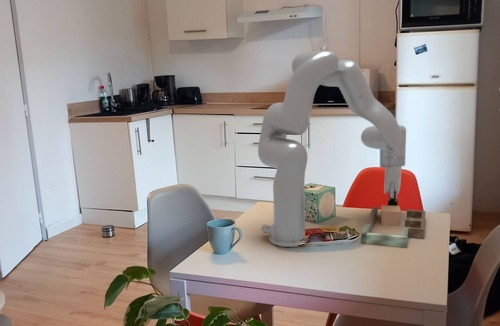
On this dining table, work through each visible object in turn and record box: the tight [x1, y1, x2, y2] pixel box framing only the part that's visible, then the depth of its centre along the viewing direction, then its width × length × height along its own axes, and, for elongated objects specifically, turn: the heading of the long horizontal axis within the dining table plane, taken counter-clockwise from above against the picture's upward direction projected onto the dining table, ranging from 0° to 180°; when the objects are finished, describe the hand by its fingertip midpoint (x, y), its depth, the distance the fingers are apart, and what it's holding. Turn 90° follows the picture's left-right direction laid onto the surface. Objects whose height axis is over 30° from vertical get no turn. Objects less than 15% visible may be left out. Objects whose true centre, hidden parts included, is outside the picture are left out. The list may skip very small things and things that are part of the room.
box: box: [360, 206, 426, 248], centre depth 157 cm, size 18×30×3 cm, turn 159°
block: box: [380, 204, 401, 227], centre depth 165 cm, size 6×7×5 cm
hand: (392, 211), depth 173 cm, fingers closed
